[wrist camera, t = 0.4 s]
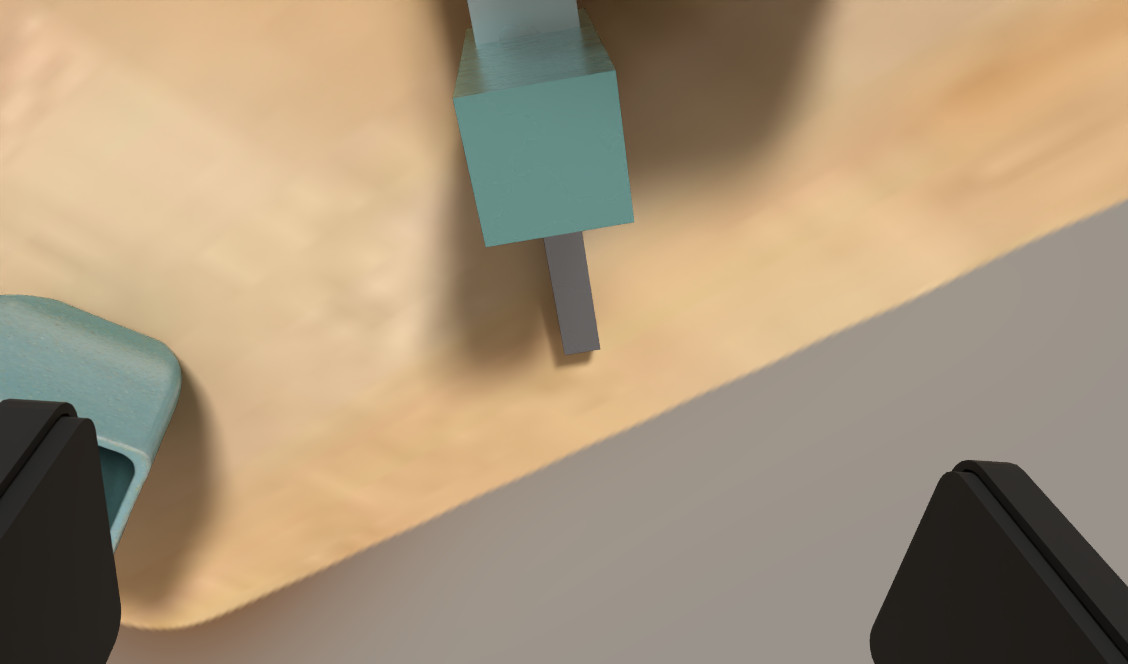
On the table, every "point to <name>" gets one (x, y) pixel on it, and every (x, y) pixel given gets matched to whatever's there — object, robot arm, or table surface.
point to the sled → (540, 121)
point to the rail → (572, 292)
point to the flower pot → (93, 386)
